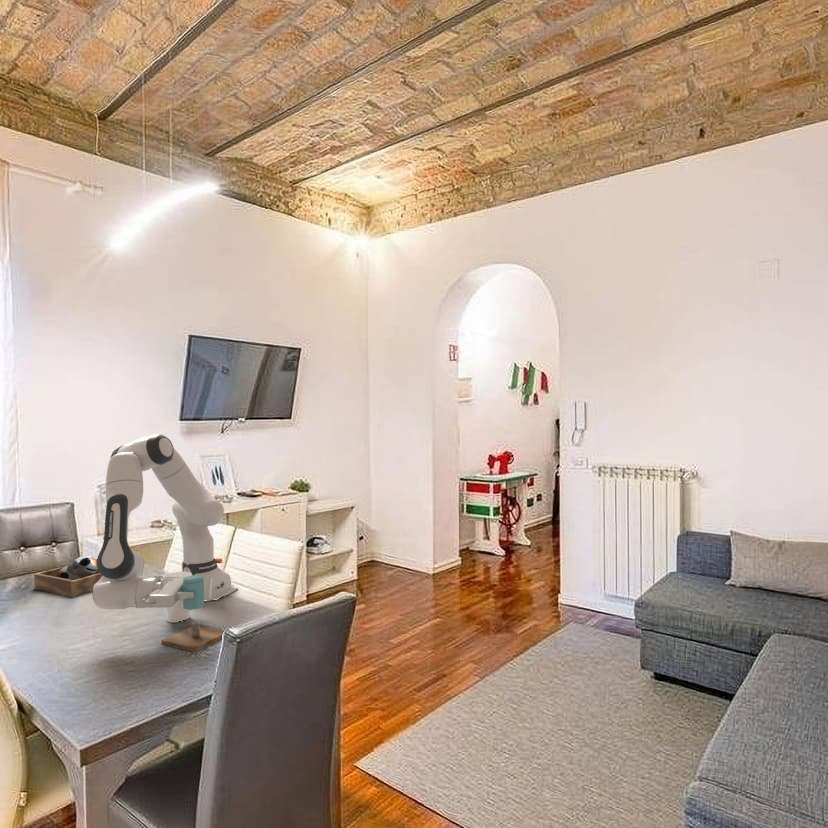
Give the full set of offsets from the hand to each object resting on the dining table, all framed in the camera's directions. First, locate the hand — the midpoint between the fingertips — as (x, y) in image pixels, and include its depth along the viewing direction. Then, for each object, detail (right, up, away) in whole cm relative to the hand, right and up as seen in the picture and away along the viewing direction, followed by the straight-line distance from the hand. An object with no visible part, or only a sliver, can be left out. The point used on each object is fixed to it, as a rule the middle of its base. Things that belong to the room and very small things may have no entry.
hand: (196, 590), depth 185 cm
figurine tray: (-70, -16, +60) cm, 94 cm away
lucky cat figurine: (-72, -16, +63) cm, 97 cm away
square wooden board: (0, -16, 0) cm, 16 cm away
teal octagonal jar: (-1, -5, 0) cm, 5 cm away
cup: (-13, -16, +19) cm, 28 cm away
